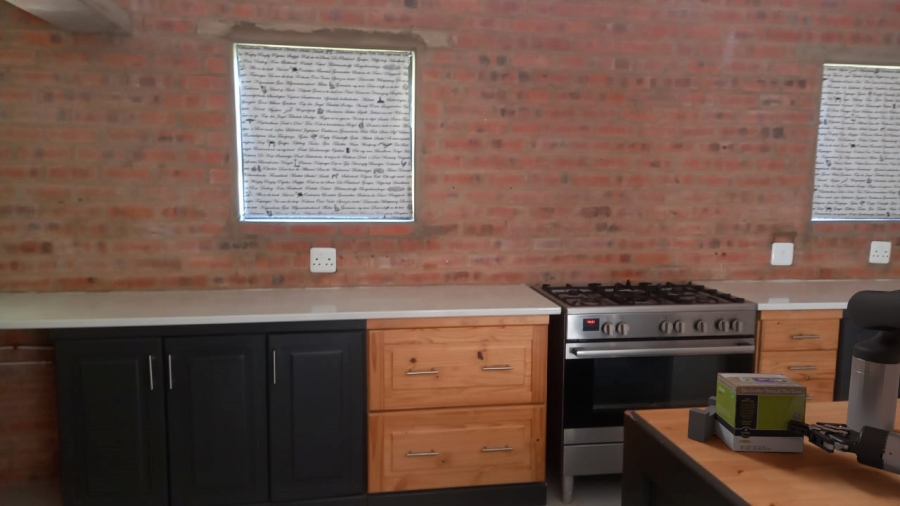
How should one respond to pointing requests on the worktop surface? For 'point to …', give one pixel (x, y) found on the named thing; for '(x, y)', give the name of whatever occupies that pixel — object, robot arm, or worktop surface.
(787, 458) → the worktop surface
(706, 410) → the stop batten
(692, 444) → the worktop surface
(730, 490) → the worktop surface
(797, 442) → the tea box
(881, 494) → the worktop surface
